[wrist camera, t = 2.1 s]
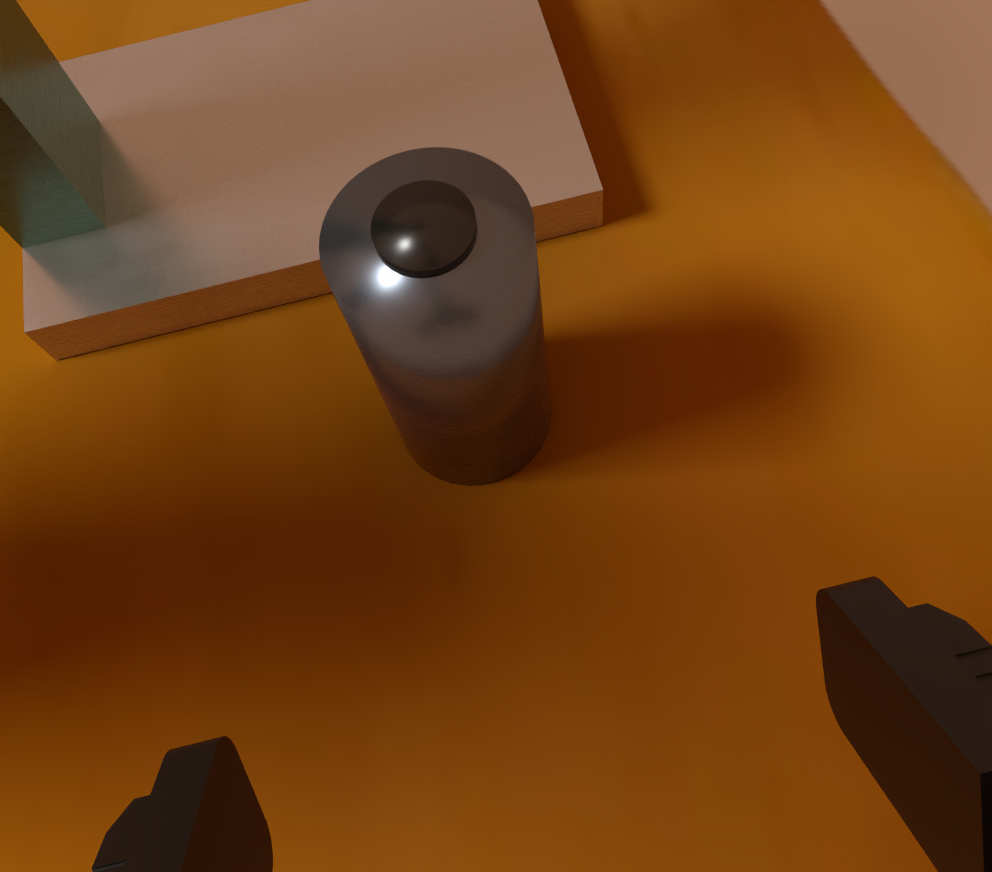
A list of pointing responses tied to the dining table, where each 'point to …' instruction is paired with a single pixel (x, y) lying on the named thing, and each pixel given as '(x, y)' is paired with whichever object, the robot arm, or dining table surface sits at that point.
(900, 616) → the robot arm
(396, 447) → the dining table surface
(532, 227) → the cylinder
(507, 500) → the dining table surface
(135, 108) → the press
